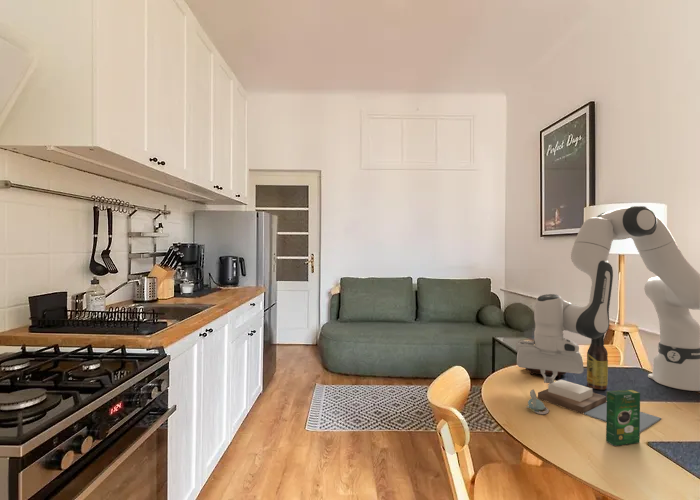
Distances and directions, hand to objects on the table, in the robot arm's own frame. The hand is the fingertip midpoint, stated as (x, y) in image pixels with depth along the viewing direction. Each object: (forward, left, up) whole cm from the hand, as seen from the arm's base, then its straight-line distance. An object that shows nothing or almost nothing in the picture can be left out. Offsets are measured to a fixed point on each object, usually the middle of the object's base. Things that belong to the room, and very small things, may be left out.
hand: (548, 382), depth 131 cm
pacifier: (+16, +6, -4) cm, 18 cm away
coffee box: (+17, +29, -4) cm, 33 cm away
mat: (0, +22, -4) cm, 22 cm away
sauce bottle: (-19, +7, -4) cm, 21 cm away
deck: (0, +8, -4) cm, 8 cm away
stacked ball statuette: (-19, -12, -4) cm, 23 cm away
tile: (0, +7, -2) cm, 7 cm away
